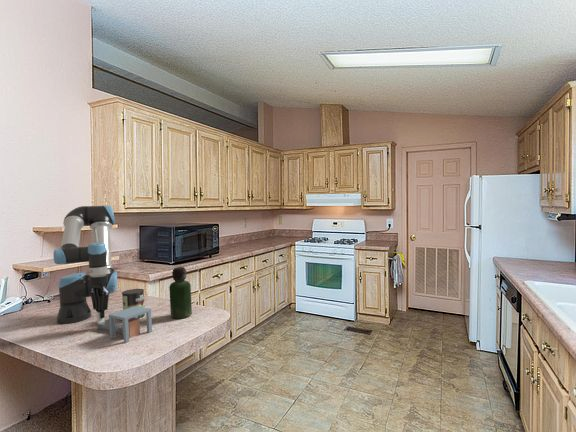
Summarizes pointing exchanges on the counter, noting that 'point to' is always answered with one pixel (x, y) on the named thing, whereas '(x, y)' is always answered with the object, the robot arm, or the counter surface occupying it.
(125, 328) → the blue toy stool
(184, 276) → the green bottle
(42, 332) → the counter surface
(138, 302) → the coffee can
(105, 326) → the steel bar
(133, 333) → the block
